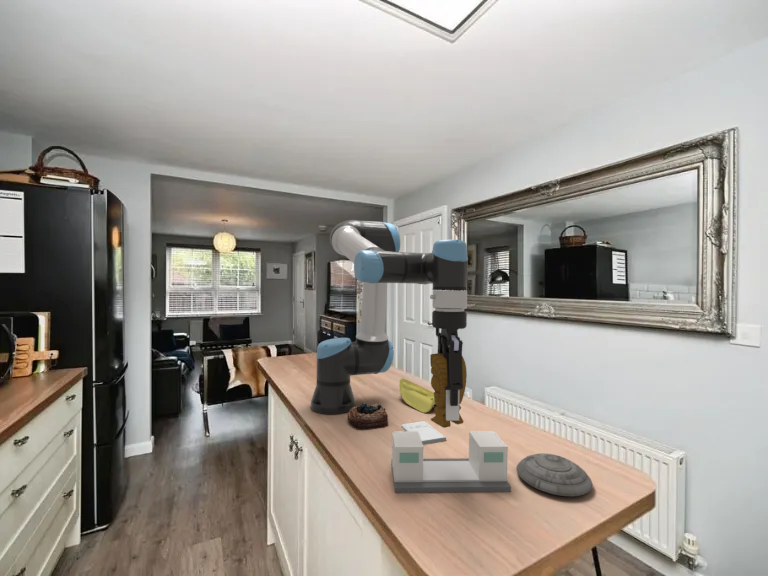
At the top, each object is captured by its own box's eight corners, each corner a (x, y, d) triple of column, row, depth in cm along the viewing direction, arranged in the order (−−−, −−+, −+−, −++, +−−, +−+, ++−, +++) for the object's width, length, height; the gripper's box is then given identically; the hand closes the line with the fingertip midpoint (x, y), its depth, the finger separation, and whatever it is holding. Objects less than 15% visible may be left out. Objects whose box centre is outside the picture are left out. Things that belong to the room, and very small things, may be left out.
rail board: (391, 463, 84) (392, 427, 83) (490, 462, 84) (491, 427, 84) (395, 492, 72) (395, 451, 72) (510, 491, 72) (511, 451, 72)
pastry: (392, 427, 105) (392, 408, 105) (353, 432, 101) (353, 412, 101) (380, 414, 116) (380, 397, 116) (344, 418, 112) (345, 400, 112)
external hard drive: (419, 447, 93) (400, 429, 105) (446, 442, 96) (425, 425, 108) (419, 441, 93) (400, 423, 105) (446, 437, 96) (425, 420, 108)
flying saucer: (502, 477, 78) (503, 453, 78) (538, 458, 87) (538, 436, 87) (572, 512, 66) (572, 483, 66) (604, 485, 76) (605, 460, 75)
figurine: (450, 414, 82) (451, 351, 82) (470, 424, 77) (471, 356, 77) (426, 420, 79) (427, 353, 79) (445, 431, 73) (447, 359, 73)
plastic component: (452, 401, 123) (434, 393, 117) (444, 421, 121) (426, 414, 116) (415, 383, 139) (398, 376, 133) (408, 401, 137) (390, 394, 132)
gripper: (425, 307, 88) (424, 398, 88) (441, 313, 68) (440, 431, 68) (455, 307, 88) (454, 398, 88) (480, 313, 68) (479, 431, 68)
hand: (448, 412), depth 78 cm, fingers closed on figurine, 7 cm apart
